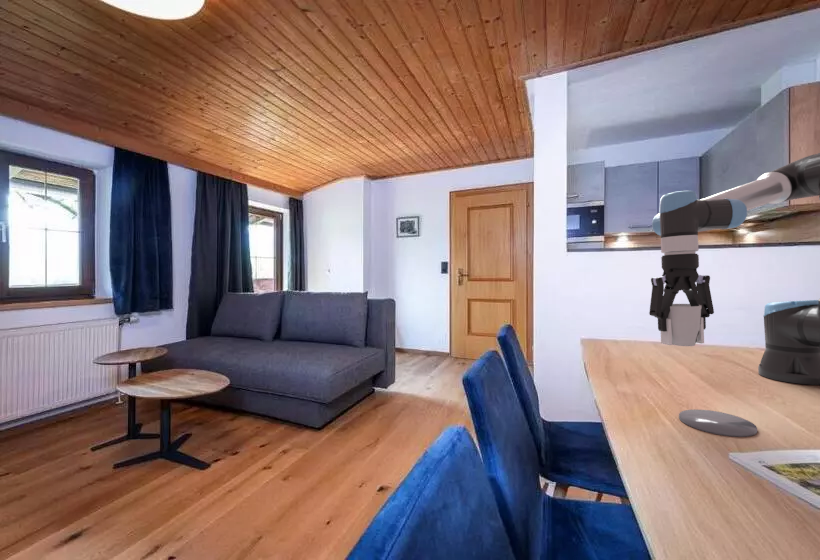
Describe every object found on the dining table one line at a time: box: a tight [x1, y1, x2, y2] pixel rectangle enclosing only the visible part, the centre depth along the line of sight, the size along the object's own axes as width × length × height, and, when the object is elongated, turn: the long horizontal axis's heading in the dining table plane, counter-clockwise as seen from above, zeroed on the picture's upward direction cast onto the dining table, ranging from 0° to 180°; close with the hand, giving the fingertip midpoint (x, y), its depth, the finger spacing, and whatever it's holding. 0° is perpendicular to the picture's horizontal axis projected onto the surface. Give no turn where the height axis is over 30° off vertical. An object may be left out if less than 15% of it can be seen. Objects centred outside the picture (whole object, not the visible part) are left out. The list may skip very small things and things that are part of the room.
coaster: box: [678, 409, 758, 438], centre depth 78 cm, size 13×13×1 cm
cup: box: [667, 303, 702, 347], centre depth 90 cm, size 8×8×10 cm
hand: (682, 343), depth 90 cm, fingers closed on cup, 8 cm apart
